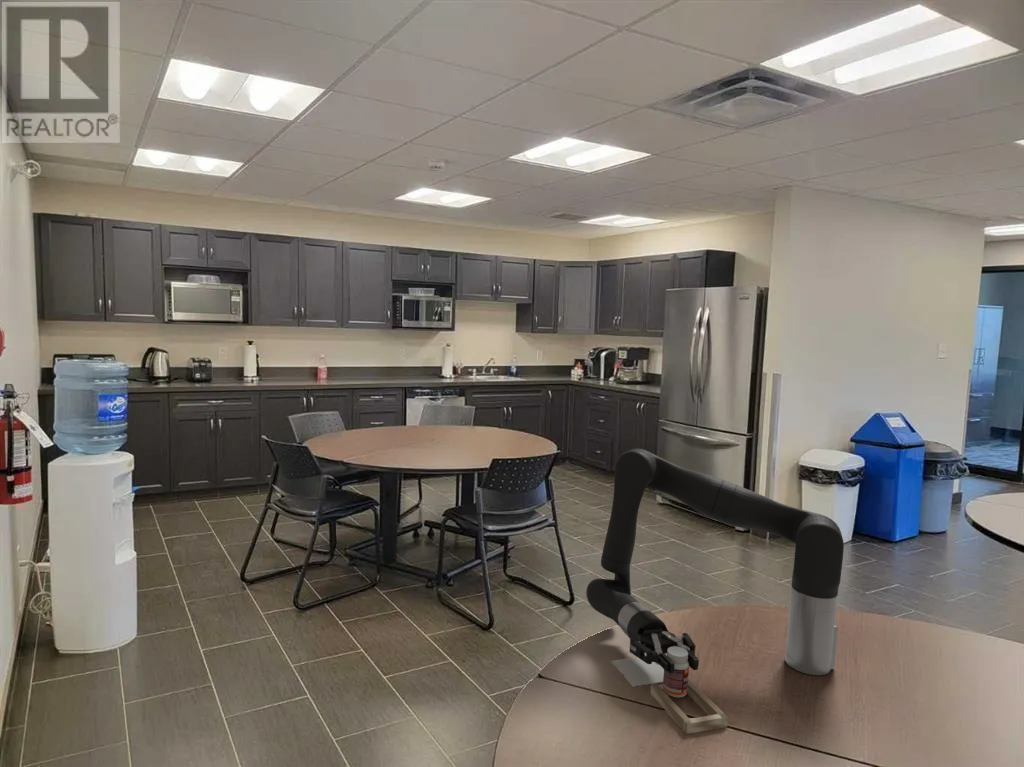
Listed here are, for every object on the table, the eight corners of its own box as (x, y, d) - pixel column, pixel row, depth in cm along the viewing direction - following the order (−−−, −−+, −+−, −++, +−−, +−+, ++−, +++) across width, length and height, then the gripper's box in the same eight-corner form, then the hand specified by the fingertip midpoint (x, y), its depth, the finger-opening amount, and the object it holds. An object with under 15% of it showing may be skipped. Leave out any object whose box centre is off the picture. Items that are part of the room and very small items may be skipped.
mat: (664, 655, 146) (664, 653, 146) (689, 679, 136) (689, 677, 136) (611, 661, 142) (611, 660, 142) (633, 687, 132) (633, 685, 132)
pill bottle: (687, 699, 127) (691, 659, 126) (662, 696, 128) (665, 655, 127) (686, 686, 131) (689, 647, 130) (662, 682, 132) (665, 643, 131)
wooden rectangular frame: (687, 688, 133) (688, 679, 133) (726, 727, 120) (727, 716, 120) (650, 693, 130) (651, 684, 130) (686, 734, 118) (687, 723, 118)
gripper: (613, 612, 140) (653, 653, 124) (671, 606, 144) (717, 644, 128) (611, 646, 141) (650, 690, 124) (669, 638, 145) (714, 680, 129)
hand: (684, 667), depth 126 cm, fingers closed on pill bottle, 4 cm apart
